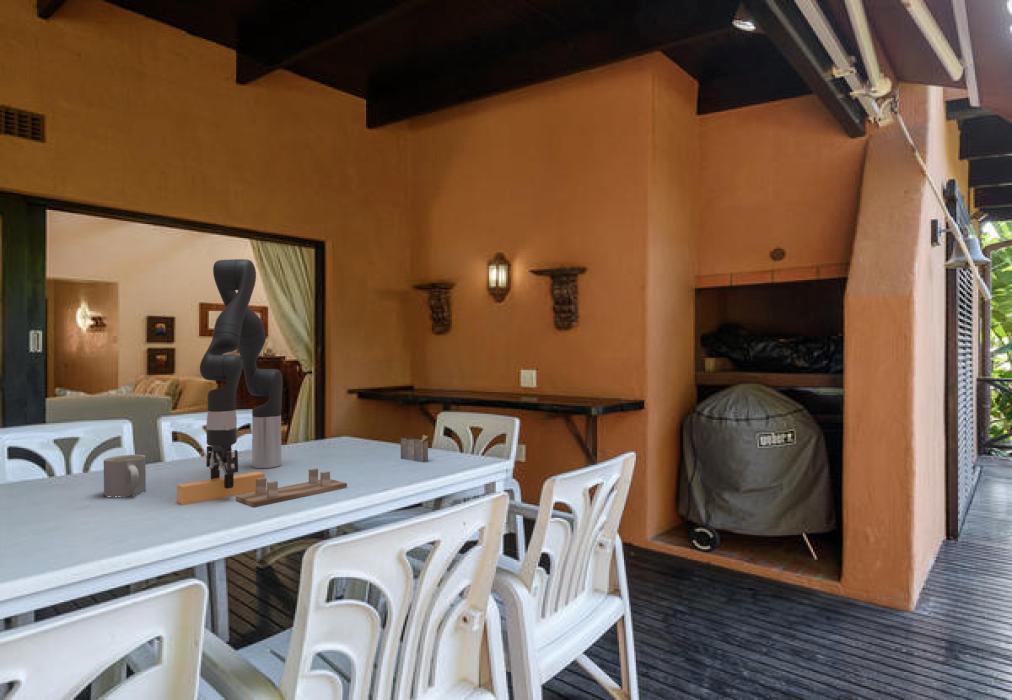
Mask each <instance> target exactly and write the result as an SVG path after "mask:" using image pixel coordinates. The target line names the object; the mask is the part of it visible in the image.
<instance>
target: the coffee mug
mask: <svg viewBox="0 0 1012 700" xmlns="http://www.w3.org/2000/svg"><path fill="white" fill-rule="evenodd" d="M146 469H147V468H146V455H144V454H123V455H115V456H111V457H106V458H104V459H103V496H104V495H105V496H111V497H115V496H117V497H118V496H129V495H135V494H139V495H141V494H140V493H142V492H144V493H146V491H147V489H146V487H147V486H146V483H147V480H146V477H147V473H146V472H147V471H146ZM142 494H143V493H142ZM135 496H136V495H135ZM129 497H130V496H129Z"/></svg>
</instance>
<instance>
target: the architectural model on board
mask: <svg viewBox="0 0 1012 700" xmlns="http://www.w3.org/2000/svg"><path fill="white" fill-rule="evenodd" d="M421 437H422V438H421V439H416V438H415V439H414V438H409V439H407V437H404V438H400V459H401V460H406V461H412V462H417V463H427V462H429V440H427V438H428V437H429V435H425V434H423V435H421Z"/></svg>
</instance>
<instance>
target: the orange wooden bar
mask: <svg viewBox="0 0 1012 700" xmlns="http://www.w3.org/2000/svg"><path fill="white" fill-rule="evenodd" d="M258 478H266V475H265V473H264V472H261V471H254V472H253V471H252V472H248V473H240V474H235V475H234V486H233V488H228V489H226V488H224V476H222V477H221V476H220V478H215V479H211V478H210V479H205V480H197V481H191V482H187V483H178V484H176V503H178V504H179V503H180V504H179V505H181V504H182V506H185V505H190V504H196V503H201V502H206V501H212V500H218V499H222V498H228V497H229V498H230V497H233V496H235V497H236V496H239V495H245V494H250V493H255V492H256V479H258Z"/></svg>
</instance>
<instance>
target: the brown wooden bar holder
mask: <svg viewBox="0 0 1012 700" xmlns="http://www.w3.org/2000/svg"><path fill="white" fill-rule="evenodd" d="M319 474H320V475H319ZM319 478H320V479H319ZM278 485H279V482H278V481H277V480H273V481H268V482H267V478H266V477H265V478H258V479H256V492H251V493H246V494H240V495H235V501H236V502H239V503H242V504H243V505H247V506H250V507H252V508H257V507H261V506H265V505H271V504H276V503H280V502H285V501H286V502H287V501H289V500H295V499H300V498H305V497H307V496H313V495H318V494H323V493H327V492H332V491H336V490H341V489H346V487H347V488H348V483H347V482H343V481H339V480H336V479H332V478H331V471H328V470H326V471H322V472H320V473H319V468H311V469H308V481H307V482H301V483H297V484H291V485H287V486H281V487H279V486H278Z"/></svg>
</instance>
